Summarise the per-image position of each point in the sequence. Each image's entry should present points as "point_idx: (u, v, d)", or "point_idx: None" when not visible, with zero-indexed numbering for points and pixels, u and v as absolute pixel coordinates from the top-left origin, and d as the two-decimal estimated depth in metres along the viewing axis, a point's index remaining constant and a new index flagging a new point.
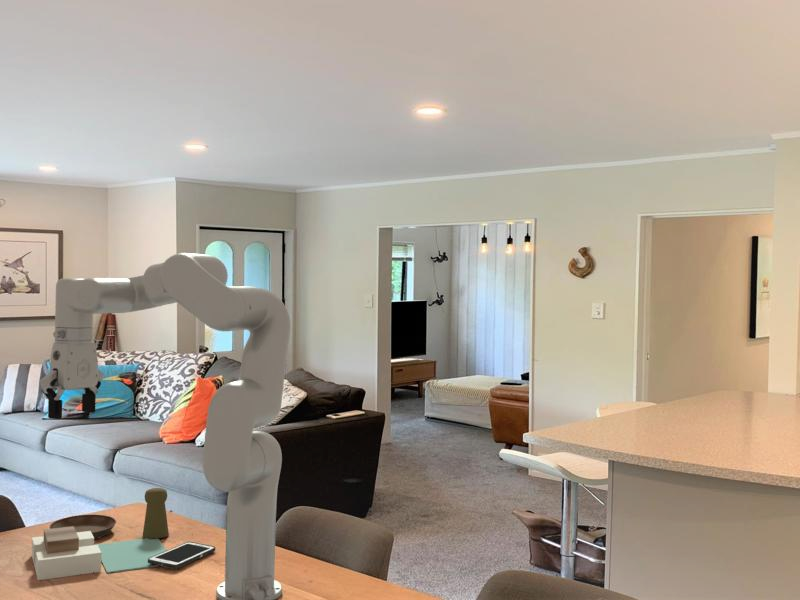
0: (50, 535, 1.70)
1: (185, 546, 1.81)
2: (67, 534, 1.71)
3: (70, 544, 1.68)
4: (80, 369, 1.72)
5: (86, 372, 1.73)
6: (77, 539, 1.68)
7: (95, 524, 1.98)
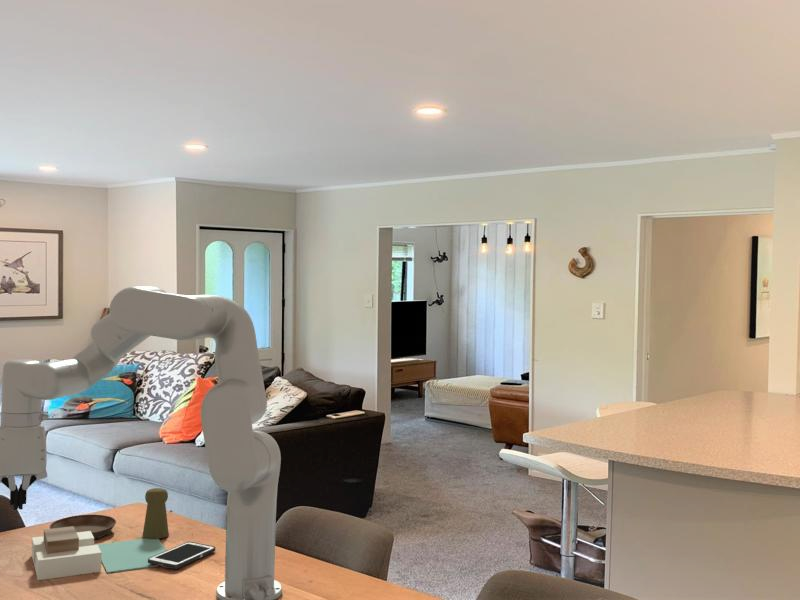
0: (50, 535, 1.70)
1: (185, 546, 1.81)
2: (67, 534, 1.71)
3: (70, 544, 1.68)
4: None
5: None
6: (77, 539, 1.68)
7: (95, 524, 1.98)
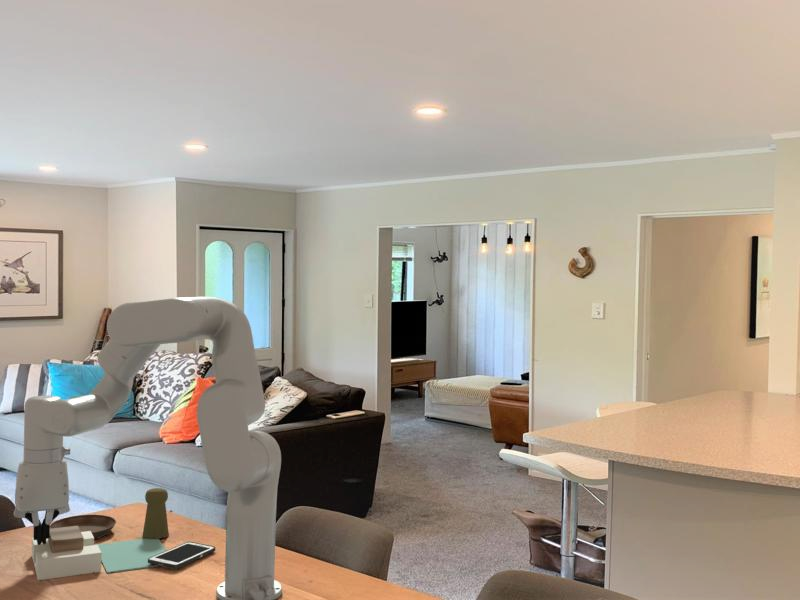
0: (55, 534, 1.70)
1: (185, 546, 1.81)
2: (71, 533, 1.71)
3: (75, 543, 1.68)
4: None
5: None
6: (82, 538, 1.69)
7: (95, 524, 1.98)
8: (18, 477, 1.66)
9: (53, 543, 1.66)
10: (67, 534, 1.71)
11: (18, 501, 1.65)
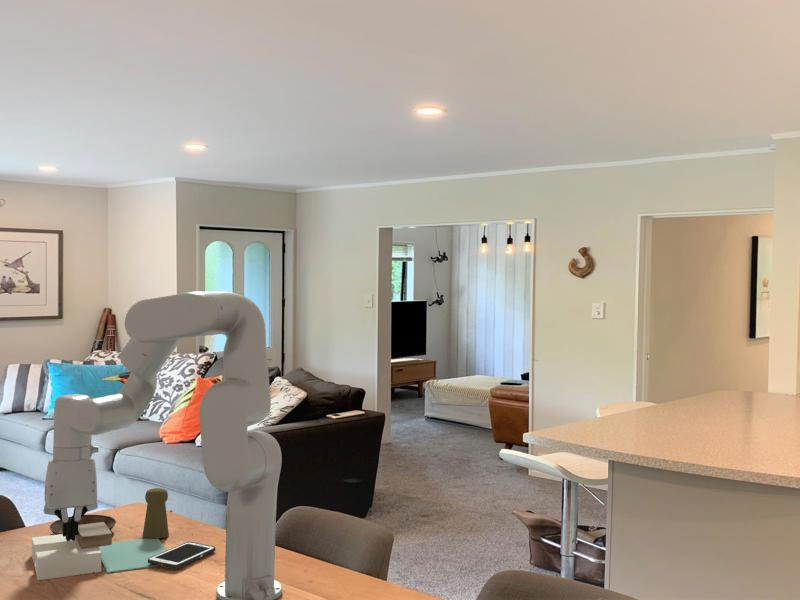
0: (83, 531, 1.73)
1: (185, 546, 1.81)
2: (99, 529, 1.74)
3: (103, 539, 1.71)
4: None
5: None
6: (110, 534, 1.72)
7: None
8: (48, 474, 1.68)
9: (83, 539, 1.69)
10: (95, 530, 1.74)
11: (48, 498, 1.68)
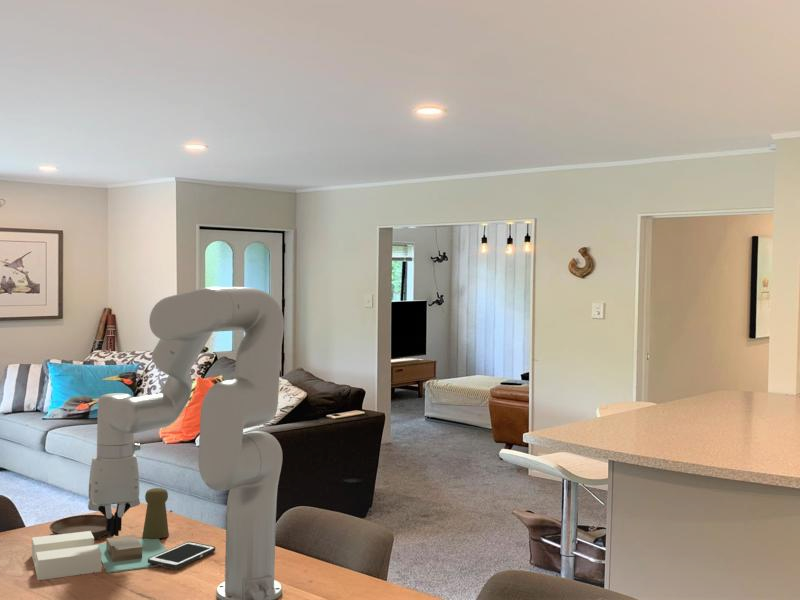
0: None
1: (185, 546, 1.81)
2: None
3: (121, 555, 1.73)
4: None
5: None
6: (114, 560, 1.72)
7: (95, 524, 1.98)
8: (92, 471, 1.73)
9: (141, 555, 1.75)
10: None
11: (93, 494, 1.72)
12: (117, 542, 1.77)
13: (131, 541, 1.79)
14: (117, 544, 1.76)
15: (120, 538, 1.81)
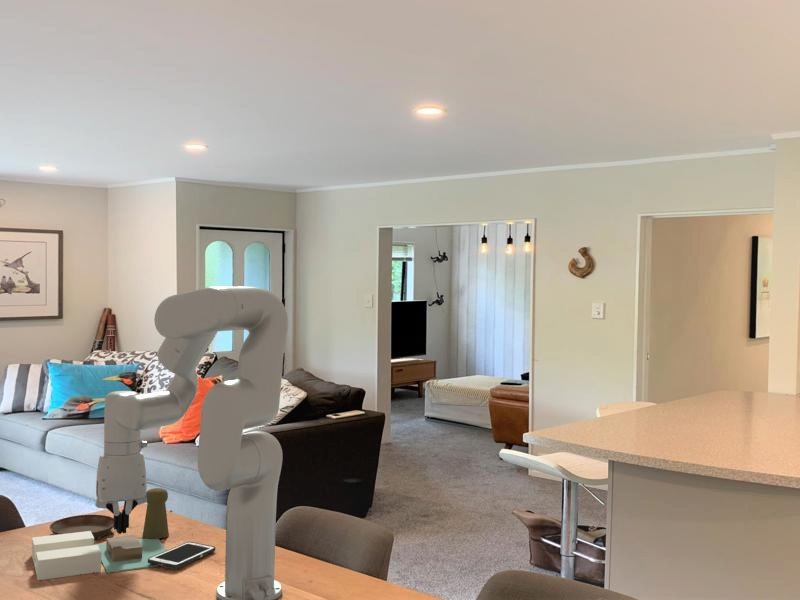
0: None
1: (185, 546, 1.81)
2: None
3: (121, 555, 1.73)
4: None
5: None
6: (114, 560, 1.72)
7: (95, 524, 1.98)
8: (100, 469, 1.73)
9: (141, 555, 1.75)
10: None
11: (100, 492, 1.72)
12: (117, 542, 1.77)
13: (131, 541, 1.79)
14: (117, 544, 1.76)
15: (120, 538, 1.81)
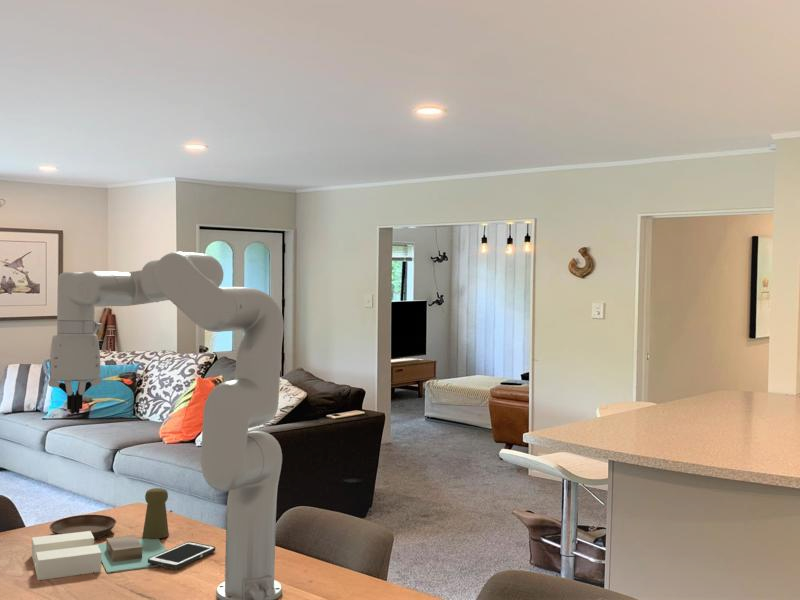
0: None
1: (185, 546, 1.81)
2: None
3: (121, 555, 1.73)
4: None
5: None
6: (114, 560, 1.72)
7: (95, 524, 1.98)
8: (52, 347, 1.73)
9: (141, 555, 1.75)
10: None
11: (52, 370, 1.72)
12: (117, 542, 1.77)
13: (131, 541, 1.79)
14: (117, 544, 1.76)
15: (120, 538, 1.81)
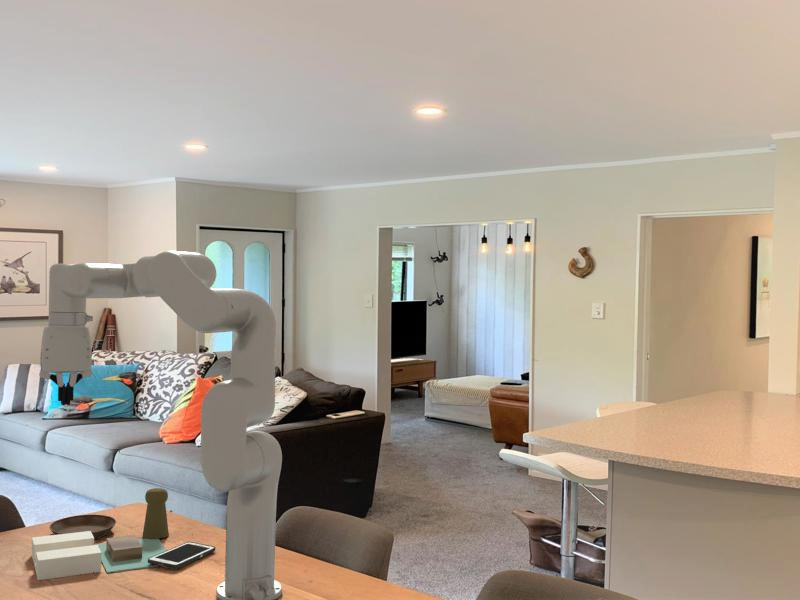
0: None
1: (185, 546, 1.81)
2: None
3: (121, 555, 1.73)
4: None
5: None
6: (114, 560, 1.72)
7: (95, 524, 1.98)
8: (43, 339, 1.73)
9: (141, 555, 1.75)
10: None
11: (43, 361, 1.72)
12: (117, 542, 1.77)
13: (131, 541, 1.79)
14: (117, 544, 1.76)
15: (120, 538, 1.81)
